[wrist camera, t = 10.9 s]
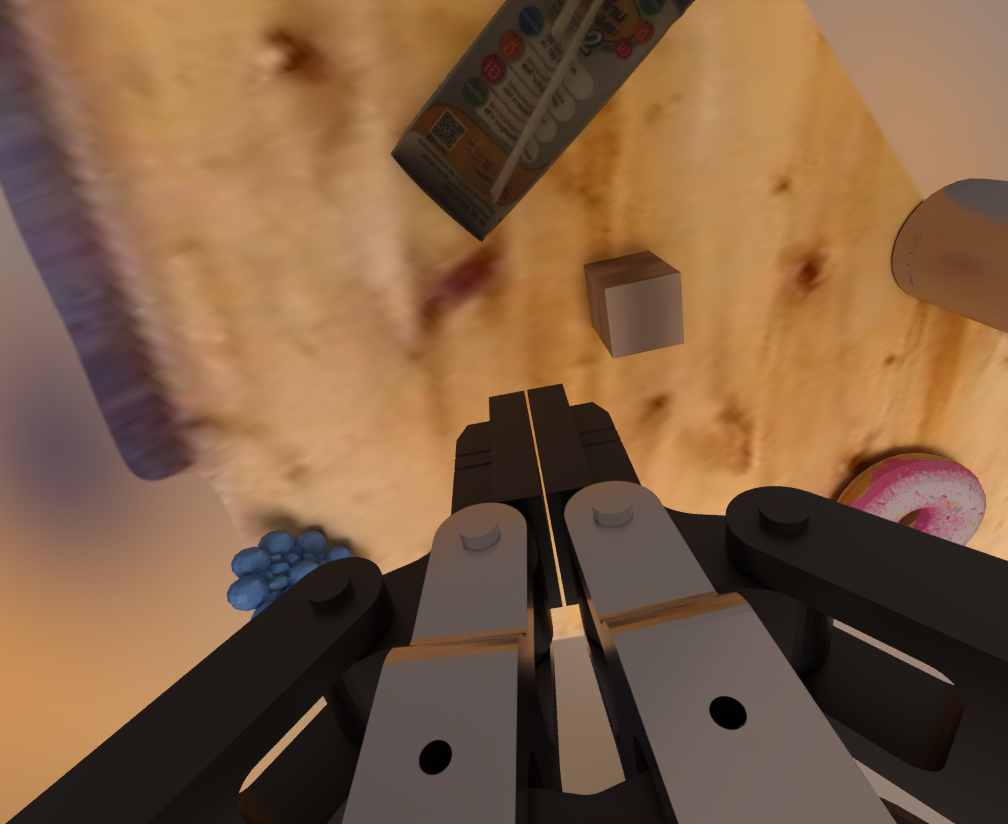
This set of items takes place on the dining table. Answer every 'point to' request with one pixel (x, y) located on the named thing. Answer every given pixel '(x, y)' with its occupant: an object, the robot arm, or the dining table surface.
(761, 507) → the robot arm
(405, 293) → the dining table surface
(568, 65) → the beverage carton
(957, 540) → the donut
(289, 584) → the grapes
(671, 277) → the walnut block
